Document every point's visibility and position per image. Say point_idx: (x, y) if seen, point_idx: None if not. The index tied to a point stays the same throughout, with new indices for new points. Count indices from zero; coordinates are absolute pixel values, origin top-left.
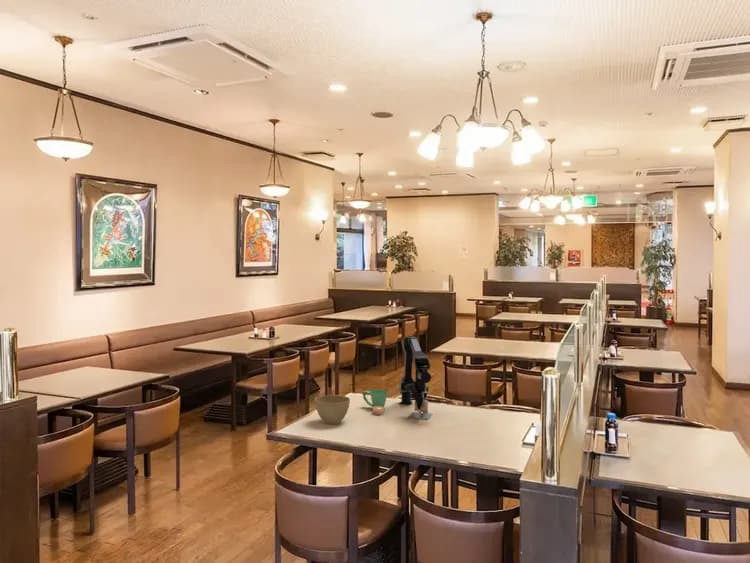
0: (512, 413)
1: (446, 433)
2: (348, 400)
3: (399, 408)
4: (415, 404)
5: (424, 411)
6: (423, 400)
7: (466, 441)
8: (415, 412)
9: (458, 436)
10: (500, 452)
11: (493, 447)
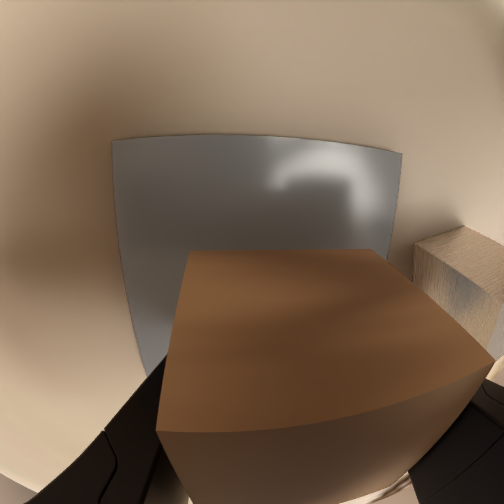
0: (365, 497)
1: (7, 427)
2: None
3: (478, 34)
4: (177, 354)
5: (420, 287)
6: (332, 499)
7: (6, 451)
8: (383, 196)
9: (18, 449)
10: (15, 475)
11: (26, 477)
